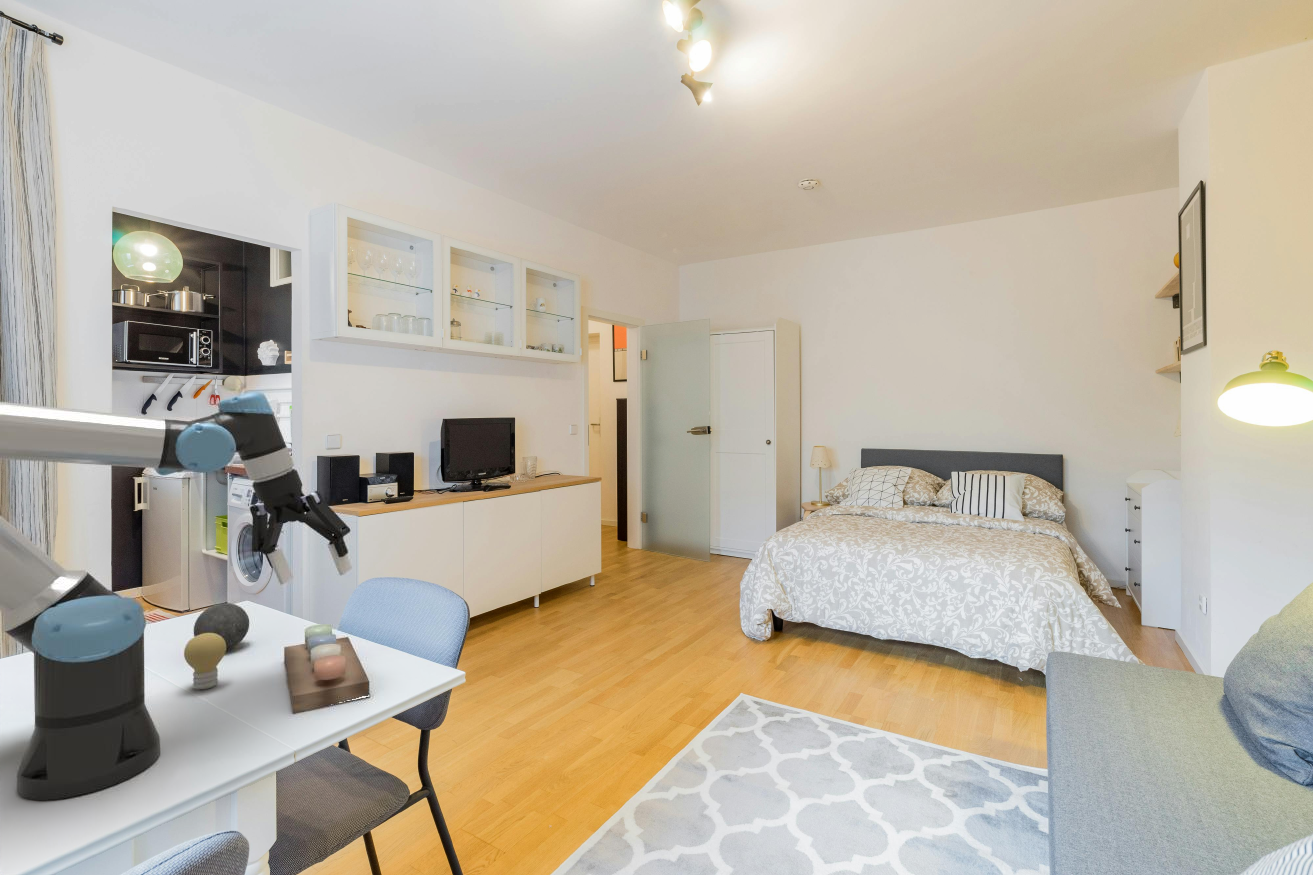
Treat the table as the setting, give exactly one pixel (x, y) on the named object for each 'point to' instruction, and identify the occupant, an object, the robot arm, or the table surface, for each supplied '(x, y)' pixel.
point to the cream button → (324, 651)
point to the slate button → (320, 640)
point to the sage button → (317, 631)
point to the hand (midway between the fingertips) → (316, 576)
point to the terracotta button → (329, 667)
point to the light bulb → (205, 658)
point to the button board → (323, 692)
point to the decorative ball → (223, 623)
